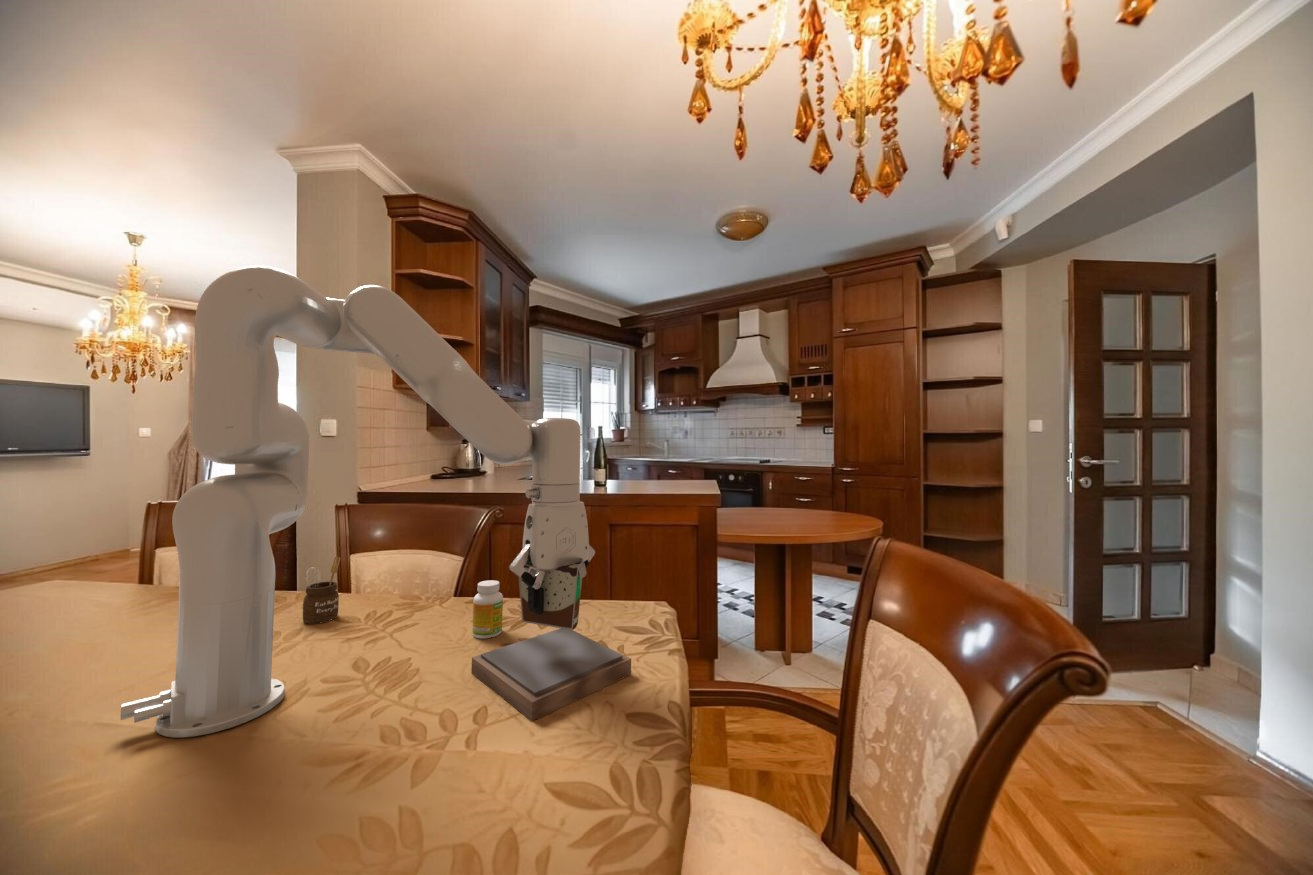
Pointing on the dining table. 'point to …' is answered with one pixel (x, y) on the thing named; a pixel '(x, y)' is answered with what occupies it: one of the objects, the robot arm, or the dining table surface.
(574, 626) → the food container
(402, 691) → the dining table surface
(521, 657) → the podium
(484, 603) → the supplement bottle
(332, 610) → the utensil holder
